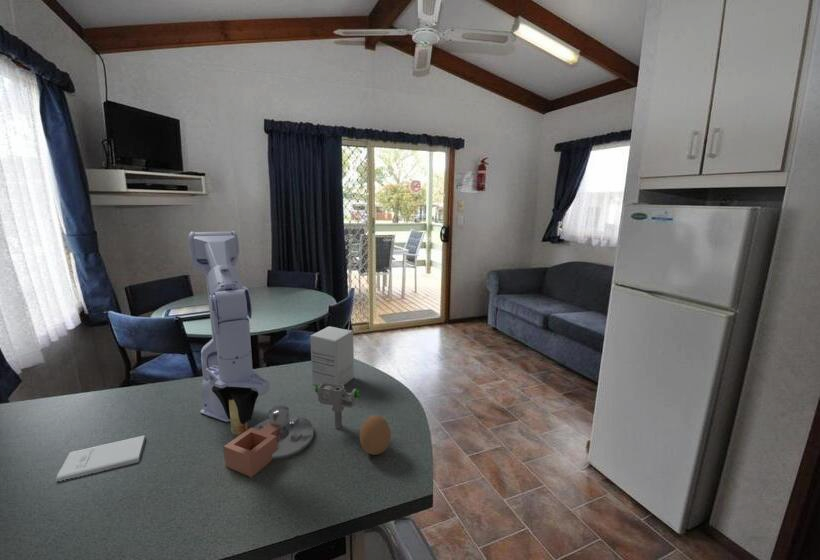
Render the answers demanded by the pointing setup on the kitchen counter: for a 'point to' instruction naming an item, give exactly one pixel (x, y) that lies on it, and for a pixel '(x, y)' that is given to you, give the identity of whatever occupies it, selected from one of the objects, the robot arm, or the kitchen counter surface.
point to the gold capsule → (235, 418)
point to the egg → (375, 435)
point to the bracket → (250, 459)
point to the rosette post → (288, 432)
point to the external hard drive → (101, 458)
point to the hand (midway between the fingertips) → (239, 418)
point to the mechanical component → (336, 399)
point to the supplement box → (332, 356)
